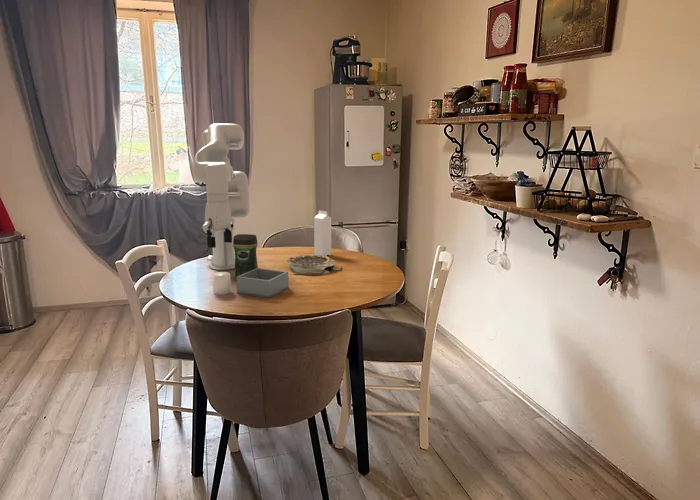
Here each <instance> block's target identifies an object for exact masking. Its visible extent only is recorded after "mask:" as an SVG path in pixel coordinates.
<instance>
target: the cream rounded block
mask: <svg viewBox="0 0 700 500" xmlns="http://www.w3.org/2000/svg"><path fill="white" fill-rule="evenodd" d="M231 284H232V282H231V273H230V272H229V271H228V272H227V271H220V272H219V271H218V272H213V273H212V288H213V290H212V292H213V293H212V294H214V295H218V296H223V295H224V296H225V295H229V294H231V293H232V287H231V286H232V285H231ZM228 293H229V294H228Z"/></svg>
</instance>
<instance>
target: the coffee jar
mask: <svg viewBox="0 0 700 500" xmlns="http://www.w3.org/2000/svg"><path fill="white" fill-rule="evenodd" d="M233 247H234V250H235V268H234V279H235V280H236V281H237V278H236V277H237V276H240V275H242V274H244V273H247V272H249V271H251V270H254V269H256V268H259V267H258V266H259V265H258V260H257V259H258V257H257V247H258V238H257V235H256V234H249V233H248V234H246V233H245V234H244V233H242V234H241V233H239V234H234V238H233Z"/></svg>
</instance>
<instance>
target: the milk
mask: <svg viewBox="0 0 700 500" xmlns="http://www.w3.org/2000/svg"><path fill="white" fill-rule="evenodd" d="M313 222H314V223H313V224H314V225H313V227H314V228H313V230H314V231H313V232H314V233H313V239H314V240H313V242H314V243H313V244H314V246H313V247H314V249H313V251H314V254H313V255H324V256H325V255H326V256H327V255H329V256H332V217H331V216H330V215H329V214H328V211H325V210H318V214H316V215H315V216H314V219H313Z"/></svg>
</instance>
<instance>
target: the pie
mask: <svg viewBox="0 0 700 500" xmlns="http://www.w3.org/2000/svg"><path fill="white" fill-rule="evenodd" d="M286 261H287V263H288V265H289V266H290V270H291V271H292V272H293V273H295V274H301V275H303V276H306V275H311V276H313V277H317V276H321V275H322V274H323V275H326V274H329V273H330V271H329V270H327V269H326V268H329V267H330V268H329V269H330V270H332V271H336V270H337V271H340V270H342V269H341V267H338V268H337V267H336V266H335V260H334V259H333V258H332V257H329V256H326V255H325V256H324V255H314V254H304V255H303V254H302V255H297V256H296V255H295V256H294V257H292V256H291V257H289V258H288V259H287V260H286ZM293 273H292V274H290V275H292V276H293V275H294V274H293ZM314 274H316V275H314Z"/></svg>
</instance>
